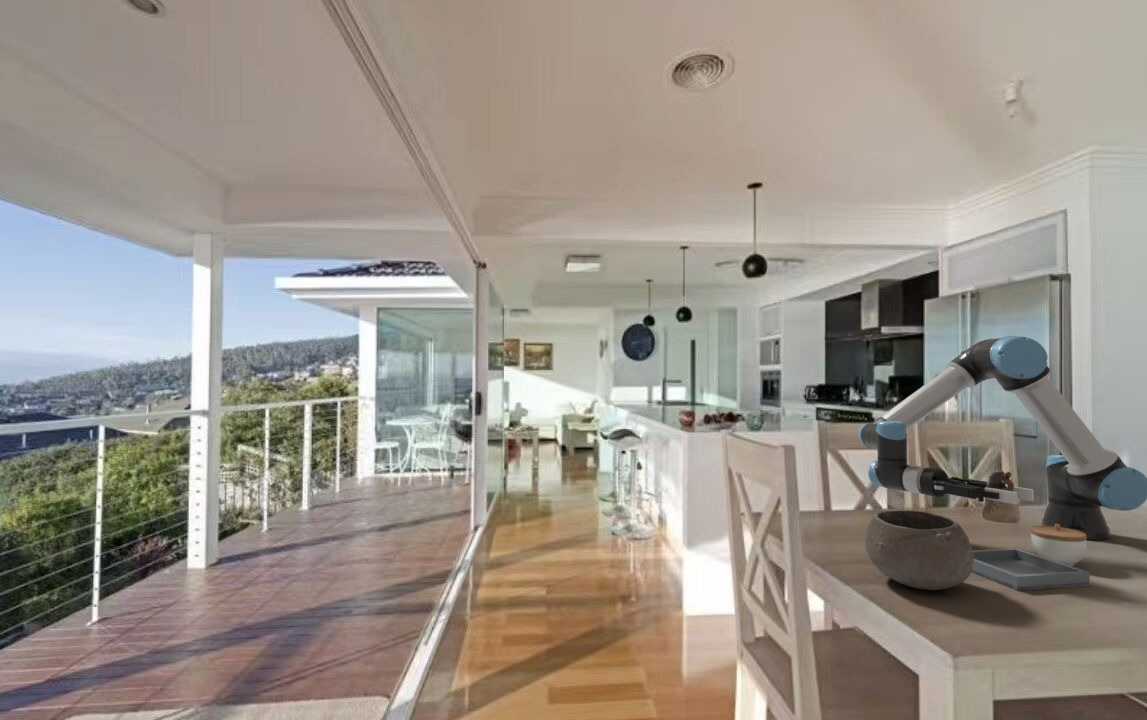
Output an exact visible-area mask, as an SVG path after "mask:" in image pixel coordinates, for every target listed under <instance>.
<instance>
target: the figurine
mask: <svg viewBox="0 0 1147 720" xmlns="http://www.w3.org/2000/svg"><path fill="white" fill-rule="evenodd" d="M1011 477H1012V472H1010V471H1007V472H1005V471H1003V470H994V471H993V472H992V473H990V474H989V476H988V479H987V481H986V482H987V483H986V484H987V487H986V488H992V489H999V490H1005V491H1011V492H1013V490H1014V487H1015V485H1014V482H1013V481H1012V480H1011V479H1010V478H1011ZM1006 486H1008V488H1007V487H1006ZM984 490H985V488H984ZM982 519H984V520H986V521H990V522H994V523H999V524H1001V523H1002V524H1017V523H1019V522H1020V519H1021V514H1020V510H1019V503H1017V504H1011V503H1005V502H999V501H993V500H987V499H985V498H984V504H983V509H982Z"/></svg>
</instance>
